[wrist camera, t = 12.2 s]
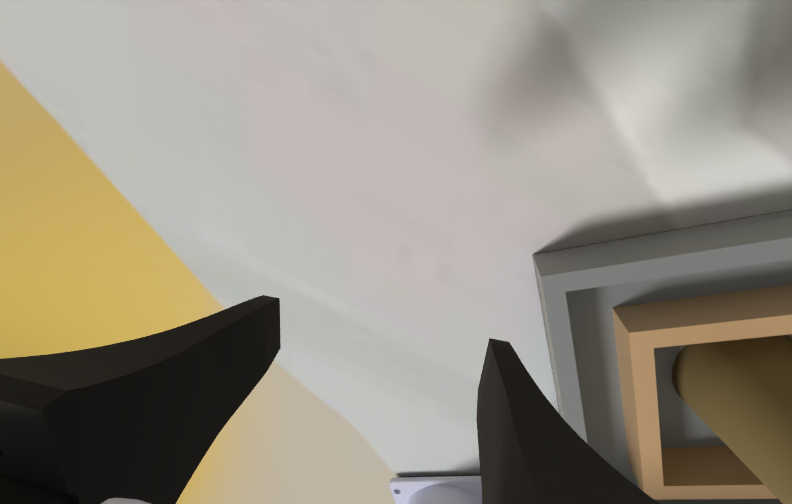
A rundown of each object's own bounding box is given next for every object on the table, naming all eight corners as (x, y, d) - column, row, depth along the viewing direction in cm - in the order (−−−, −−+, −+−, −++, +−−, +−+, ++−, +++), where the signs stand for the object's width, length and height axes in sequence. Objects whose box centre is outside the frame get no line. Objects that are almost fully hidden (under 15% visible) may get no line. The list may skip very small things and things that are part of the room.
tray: (910, 487, 22) (981, 549, 19) (572, 491, 27) (584, 541, 24) (968, 179, 16) (1079, 195, 13) (532, 254, 21) (541, 279, 18)
